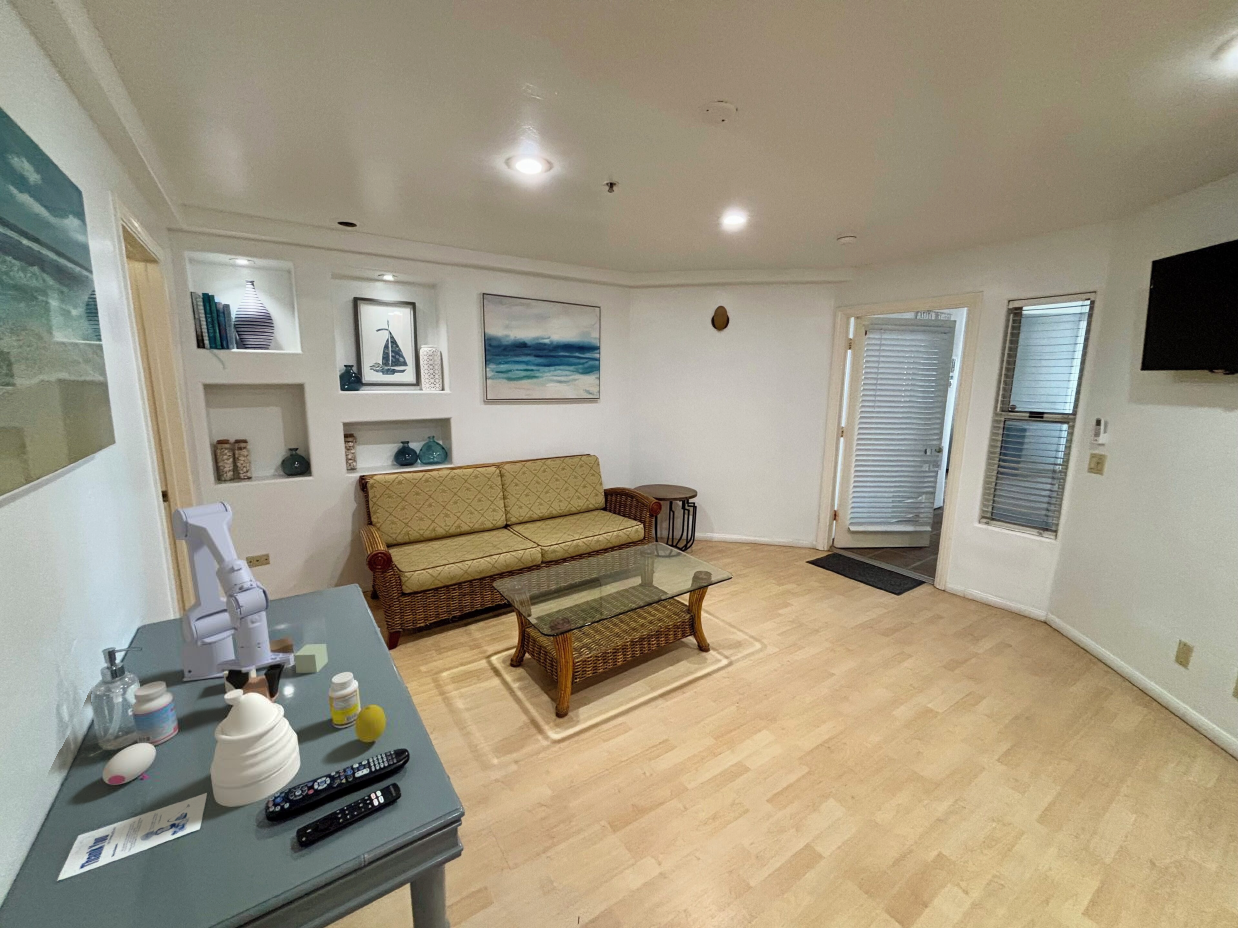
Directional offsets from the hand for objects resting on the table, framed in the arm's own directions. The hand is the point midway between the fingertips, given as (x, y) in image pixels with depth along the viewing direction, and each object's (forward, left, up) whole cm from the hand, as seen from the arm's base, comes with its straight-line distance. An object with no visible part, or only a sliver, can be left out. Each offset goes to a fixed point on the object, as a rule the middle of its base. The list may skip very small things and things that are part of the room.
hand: (260, 696), depth 110 cm
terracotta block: (0, 0, -1) cm, 1 cm away
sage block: (+6, +13, -2) cm, 14 cm away
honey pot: (+10, -24, -2) cm, 26 cm away
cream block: (-8, +9, -2) cm, 12 cm away
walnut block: (-3, +18, -2) cm, 18 cm away
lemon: (+28, -19, -2) cm, 34 cm away
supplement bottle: (+21, -11, -2) cm, 24 cm away
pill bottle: (-15, -8, -2) cm, 17 cm away
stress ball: (-13, -19, -2) cm, 23 cm away
